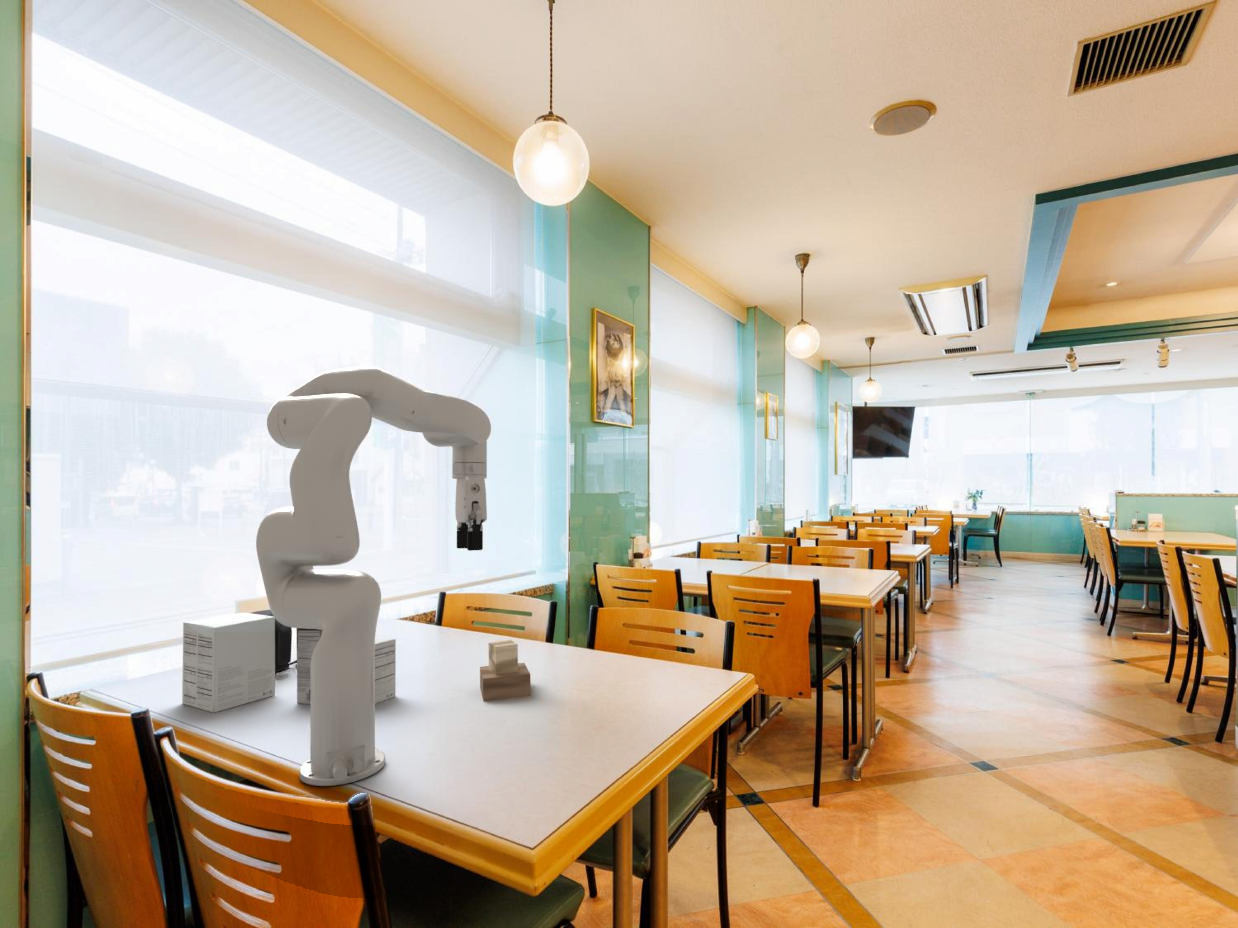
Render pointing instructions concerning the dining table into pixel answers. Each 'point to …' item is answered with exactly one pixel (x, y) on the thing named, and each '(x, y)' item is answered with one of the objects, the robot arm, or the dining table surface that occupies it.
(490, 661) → the maple block
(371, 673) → the robot arm
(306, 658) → the coffee box
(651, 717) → the dining table surface
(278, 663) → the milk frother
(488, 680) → the walnut block
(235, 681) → the supplement box
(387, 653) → the supplement box
